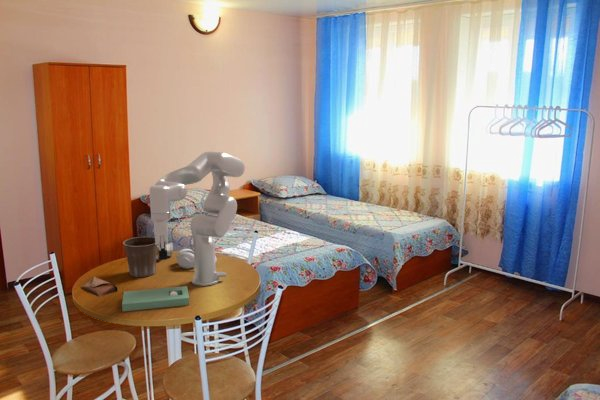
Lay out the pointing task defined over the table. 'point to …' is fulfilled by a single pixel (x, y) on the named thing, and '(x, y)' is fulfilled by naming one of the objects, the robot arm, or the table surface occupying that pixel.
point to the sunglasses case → (99, 287)
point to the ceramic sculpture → (169, 250)
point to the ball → (173, 293)
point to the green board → (154, 298)
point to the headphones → (187, 258)
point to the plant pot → (141, 256)
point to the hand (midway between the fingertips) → (163, 259)
